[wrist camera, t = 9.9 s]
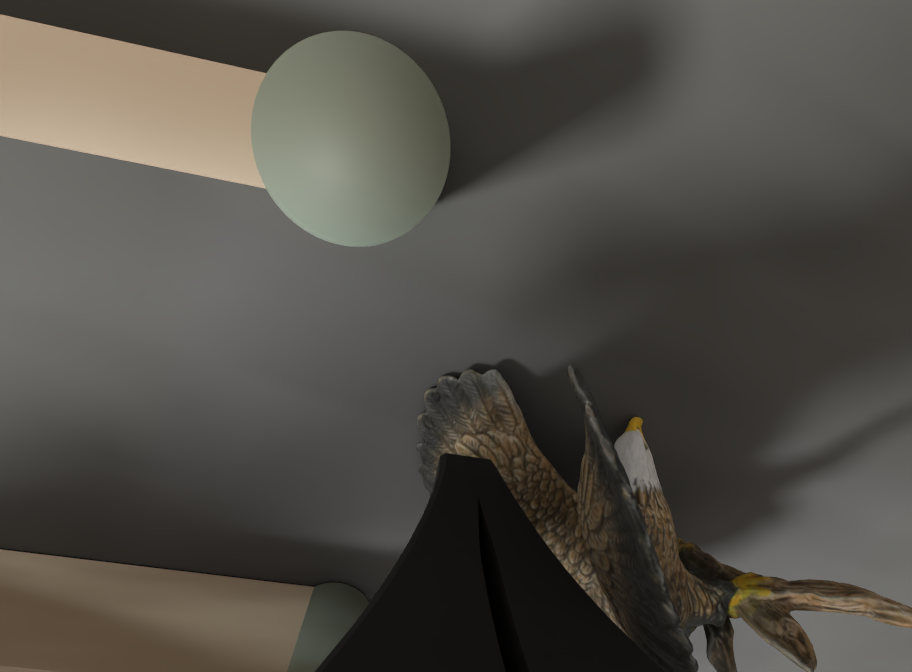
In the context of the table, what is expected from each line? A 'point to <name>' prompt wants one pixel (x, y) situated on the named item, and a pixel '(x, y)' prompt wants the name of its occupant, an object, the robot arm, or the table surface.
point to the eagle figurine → (628, 532)
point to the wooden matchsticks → (308, 205)
